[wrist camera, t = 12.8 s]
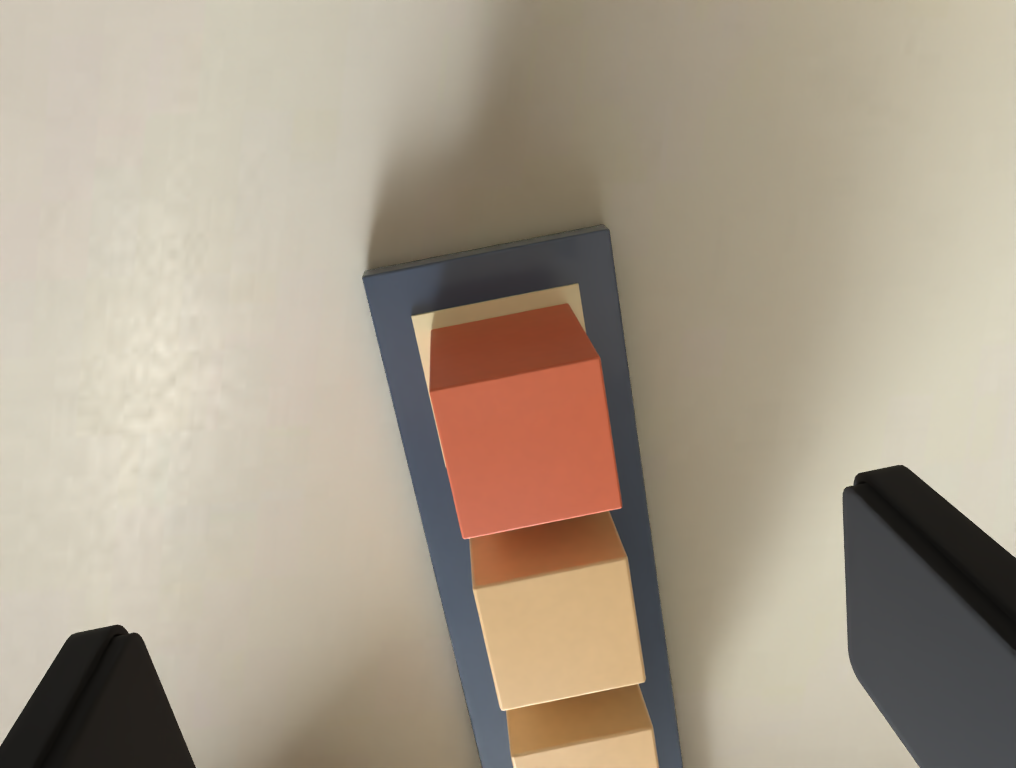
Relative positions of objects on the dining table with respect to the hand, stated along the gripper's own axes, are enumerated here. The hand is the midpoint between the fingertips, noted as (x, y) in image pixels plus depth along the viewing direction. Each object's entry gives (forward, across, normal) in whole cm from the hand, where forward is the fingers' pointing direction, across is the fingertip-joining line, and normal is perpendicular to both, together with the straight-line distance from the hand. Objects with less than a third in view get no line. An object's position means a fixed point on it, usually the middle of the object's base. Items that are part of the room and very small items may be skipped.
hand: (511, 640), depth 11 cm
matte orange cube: (+14, -1, +2) cm, 14 cm away
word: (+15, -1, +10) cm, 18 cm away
